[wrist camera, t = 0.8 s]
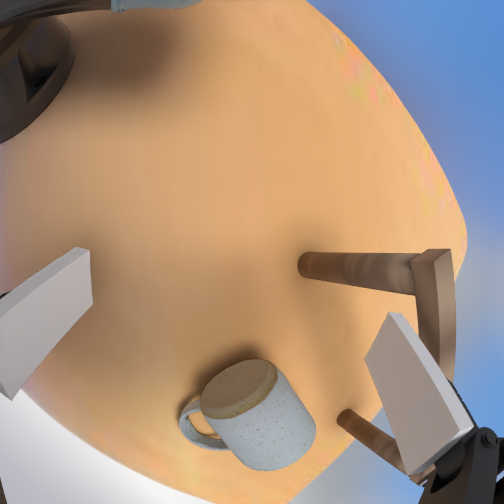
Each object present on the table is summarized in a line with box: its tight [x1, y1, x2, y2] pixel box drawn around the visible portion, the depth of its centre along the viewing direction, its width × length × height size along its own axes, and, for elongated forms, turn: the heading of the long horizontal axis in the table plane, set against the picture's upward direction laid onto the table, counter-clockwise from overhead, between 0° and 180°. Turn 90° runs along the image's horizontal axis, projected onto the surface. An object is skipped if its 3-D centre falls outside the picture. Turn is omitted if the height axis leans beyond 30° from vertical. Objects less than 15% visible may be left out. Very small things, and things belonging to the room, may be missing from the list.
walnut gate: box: [298, 249, 456, 486], centre depth 19 cm, size 22×2×14 cm, turn 18°
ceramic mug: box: [179, 359, 316, 471], centre depth 19 cm, size 11×8×8 cm
